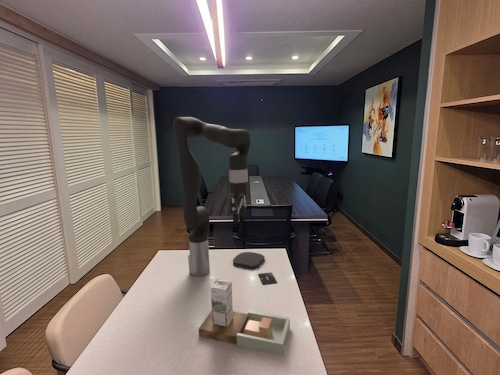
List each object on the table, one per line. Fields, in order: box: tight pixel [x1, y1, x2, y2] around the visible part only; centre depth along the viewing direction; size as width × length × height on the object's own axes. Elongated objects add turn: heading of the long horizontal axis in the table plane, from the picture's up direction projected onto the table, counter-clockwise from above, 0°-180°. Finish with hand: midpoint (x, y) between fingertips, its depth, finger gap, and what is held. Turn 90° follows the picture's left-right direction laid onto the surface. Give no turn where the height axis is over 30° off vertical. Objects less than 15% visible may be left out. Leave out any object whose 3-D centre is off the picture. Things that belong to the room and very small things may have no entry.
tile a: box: [245, 320, 261, 337], centre depth 96 cm, size 5×5×3 cm
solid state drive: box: [257, 272, 278, 286], centre depth 133 cm, size 7×10×1 cm
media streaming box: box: [232, 251, 266, 270], centre depth 150 cm, size 15×15×3 cm
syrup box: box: [210, 279, 234, 327], centre depth 98 cm, size 6×6×14 cm
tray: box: [236, 310, 291, 357], centre depth 95 cm, size 15×13×4 cm
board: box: [198, 309, 248, 346], centre depth 99 cm, size 14×12×3 cm
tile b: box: [259, 317, 272, 339], centre depth 94 cm, size 5×5×3 cm
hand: (239, 219), depth 115 cm, fingers open, 8 cm apart
